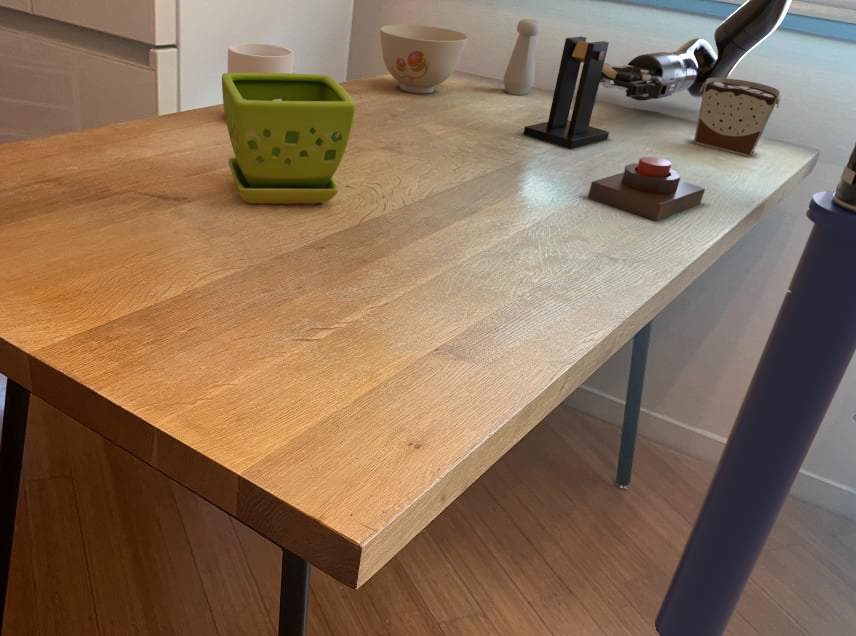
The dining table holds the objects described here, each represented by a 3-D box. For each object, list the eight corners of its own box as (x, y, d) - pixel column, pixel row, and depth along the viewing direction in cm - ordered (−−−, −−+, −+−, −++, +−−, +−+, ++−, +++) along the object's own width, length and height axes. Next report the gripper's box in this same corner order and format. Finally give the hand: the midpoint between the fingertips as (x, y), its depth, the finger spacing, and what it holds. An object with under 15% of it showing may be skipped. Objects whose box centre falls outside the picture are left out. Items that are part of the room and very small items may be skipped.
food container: (771, 152, 142) (794, 89, 137) (759, 159, 138) (782, 94, 132) (698, 135, 148) (716, 74, 143) (684, 140, 144) (703, 78, 139)
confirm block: (633, 183, 122) (641, 154, 119) (700, 204, 116) (709, 174, 114) (587, 197, 114) (594, 167, 112) (656, 221, 108) (665, 190, 106)
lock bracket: (560, 126, 146) (581, 32, 139) (607, 139, 141) (631, 43, 133) (522, 134, 140) (542, 36, 132) (570, 149, 134) (593, 48, 127)
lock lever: (597, 80, 145) (603, 66, 145) (629, 88, 142) (635, 74, 141) (561, 53, 135) (567, 38, 134) (594, 61, 131) (601, 45, 130)
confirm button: (645, 167, 115) (649, 154, 115) (673, 176, 113) (677, 163, 112) (630, 172, 113) (634, 159, 112) (658, 181, 111) (662, 167, 110)
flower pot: (218, 173, 111) (219, 70, 105) (323, 174, 114) (331, 74, 108) (232, 211, 100) (234, 98, 93) (348, 211, 103) (359, 101, 96)
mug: (262, 131, 130) (265, 59, 124) (213, 117, 134) (214, 47, 129) (313, 119, 138) (318, 50, 133) (265, 105, 143) (268, 39, 138)
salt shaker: (529, 97, 163) (543, 23, 156) (499, 93, 165) (512, 19, 158) (533, 91, 168) (548, 19, 161) (504, 87, 170) (517, 15, 163)
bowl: (357, 86, 161) (362, 28, 156) (406, 76, 172) (412, 22, 166) (428, 104, 153) (436, 44, 147) (475, 93, 163) (484, 36, 158)
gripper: (624, 45, 154) (574, 51, 144) (699, 61, 145) (651, 69, 136) (613, 89, 158) (564, 98, 148) (686, 107, 149) (638, 118, 140)
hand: (606, 84), depth 142 cm, fingers open, 8 cm apart
